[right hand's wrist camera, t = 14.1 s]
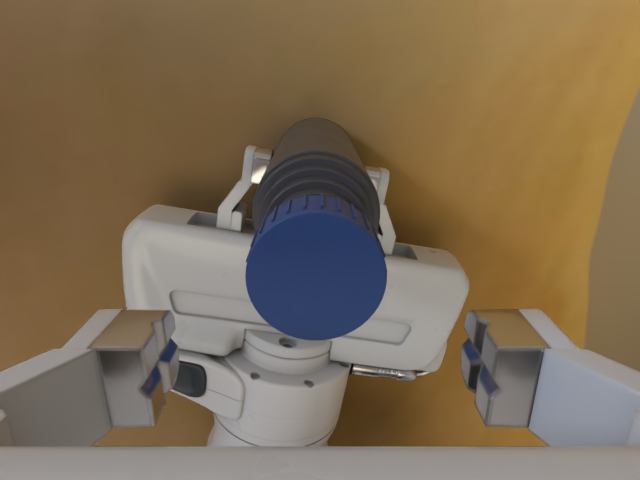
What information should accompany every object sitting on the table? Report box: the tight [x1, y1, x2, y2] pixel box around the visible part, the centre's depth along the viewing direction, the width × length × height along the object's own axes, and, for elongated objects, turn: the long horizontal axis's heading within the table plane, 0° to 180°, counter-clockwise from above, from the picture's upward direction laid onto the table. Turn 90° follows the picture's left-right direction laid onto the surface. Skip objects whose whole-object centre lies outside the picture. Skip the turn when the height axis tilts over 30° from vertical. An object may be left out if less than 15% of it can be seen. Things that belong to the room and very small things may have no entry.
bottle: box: [252, 118, 380, 233], centre depth 21 cm, size 5×5×18 cm
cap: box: [245, 194, 387, 340], centre depth 13 cm, size 4×4×2 cm
